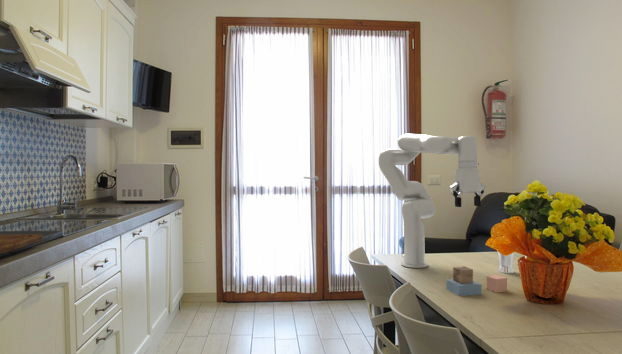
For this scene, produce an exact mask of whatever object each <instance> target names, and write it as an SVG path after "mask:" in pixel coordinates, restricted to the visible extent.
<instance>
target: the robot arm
mask: <svg viewBox="0 0 622 354" xmlns="http://www.w3.org/2000/svg"><path fill="white" fill-rule="evenodd" d="M397 146H398V148H386V149H384V150H382V151H381V152H380V153H379V156H378V166H379V169H380V172H381V173H382V175H383V176H384V177H385V178H386V181H387V182H388V184H389V186H390V187H391V190H392V191H393V193H394V194H395V196H396V198H397V199H398V200H400V201H404V203H403V204H402V206H401V215H402V219H403V234H404V235H403V242H404V244H403V246H404V247H403V249H404V252H403V253H404V254H402V255H401V257H402V258H403V260H402V261H401V262H400V264H401V266H403V267H406V268H413V269H422V268H423V269H424V268H427V267H428V266H429V263H428V262H427V261H425V258H426V257H425V256H426V255H425V254H426V253H425V252H426V251H425V245H426V244H425V240H426V239H425V237H426V236H425V226H424V223H423V220H422V219H429V218H431V217H433V216H434V215H435V214H436V210H437V209H436V205H435V202H434V200H433V199H432V197H431V195H430V194H429V193H428V191H427V189H426V187H425V186H424V184H422V183H421V182H419V181H416V180H408V178H407V177H406V176H405V174H404V172H403V171H402V170H401V169H400V168H399V167H397V166H407V165H409V164H410V163H412V162H413V161H414V160H415V158H416V157H418V156H419V155H420V154H421V153H425V154H427V153H428V154H438V155H457V168H455V169H456V170H455V173H454V183H453V184H452V185H450V186H449V190H450V192H451V195H452V196H453V198H454V206H455V208H462V197H461V196H462V195H463V193H464V194H466V193H467V194H468V193H469V194H470V193H471V194H472V193H473V194H474V196H473V206H475V207H481V206H482V205H481V200H482V199H481V198H482V197H483V194H484V193H485V189H486V185H485V184H483V183H481V177H480V171H479V169H478V166H479V165H480V163H479V162H478V138H477V136H476V135H475V136H474V135H462V136H459V137H458V136H457V137H456V136H441V135H429V134H424V133H423V134H421V133H404V134H402V135H400V136H399V137H398V139H397Z"/></svg>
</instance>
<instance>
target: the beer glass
mask: <svg viewBox="0 0 622 354" xmlns="http://www.w3.org/2000/svg"><path fill="white" fill-rule="evenodd" d="M497 255H498V260H499V261H498V262H499V265H498V272H499V273H501V274H514V273H515V271H514V259H515V253H512V254H510V255H508V256H503V255H501V254H500V253H499V252H498V251H497Z"/></svg>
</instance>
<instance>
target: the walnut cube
mask: <svg viewBox="0 0 622 354" xmlns="http://www.w3.org/2000/svg"><path fill="white" fill-rule="evenodd" d="M452 279H453V280H454V281H456V282H458V283H460V284H465V283H473V281H474V270H473V268H470V267H467V266H455V267H454V266H453V267H452Z"/></svg>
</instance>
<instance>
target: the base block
mask: <svg viewBox="0 0 622 354" xmlns="http://www.w3.org/2000/svg"><path fill="white" fill-rule="evenodd" d="M445 283H446V290H447V291H449V292H452V293H454V294H455V295H456V296H463V297H464V296H474V295H475V296H476V295H483V294H482V287H483V286H482V284H481V283H479V282H478V281H476V280H473V283H465V284H460V283H458V282H456V281H454V280H453V278H448V279H447V278H446V282H445Z"/></svg>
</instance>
